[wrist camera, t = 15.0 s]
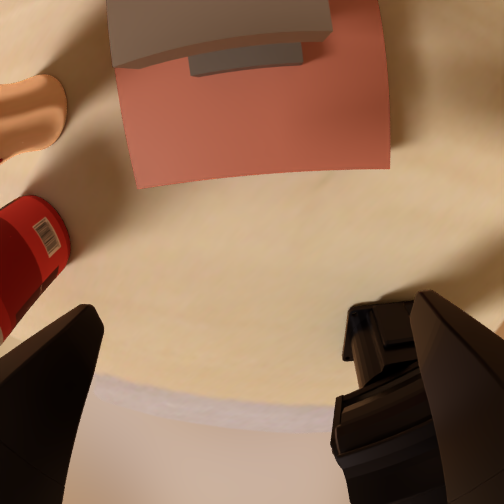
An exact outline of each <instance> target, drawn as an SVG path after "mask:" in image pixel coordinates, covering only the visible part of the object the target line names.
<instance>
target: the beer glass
mask: <svg viewBox="0 0 504 504" xmlns="http://www.w3.org/2000/svg"><path fill="white" fill-rule="evenodd" d="M66 116H67V100H66V95H65V91H64V89H63V87H62V85H61V83H60V82H59V81H58V80H57V79H56V78H55V77H53V76H51V75H47V74H40V75H36V76H33V77H30V78H27V79H25V80H22V81H19V82H16V83H11V84H0V165H1V164H3V163H4V162H5V161H7V160H8V159H10V158H12V157H14V156H16V155H18V154H21V153H25V152H32V151H39V150H43V149H46V148H48V147H49V146H51V145H52V144H53V143H54V142H55V141H56V140H57V139H58V138H59V136H60V134H61V132H62V130H63V128H64V125H65V121H66Z"/></svg>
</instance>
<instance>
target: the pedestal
mask: <svg viewBox="0 0 504 504" xmlns="http://www.w3.org/2000/svg"><path fill="white" fill-rule="evenodd" d="M106 5H107V19H108V31H109V41H110V50H111V58H112V66H113V68H128V69H142V68H145V67H148V66H152V65H156V64H159V63H163V62H167V61H171V60H175V59H179V58H184V57H188V62H189V69H190V76H193V77H203V76H209V75H215V74H221V73H227V72H234V71H242V70H250V69H259V68H270V67H283V66H301V65H302V64H303V54H302V46H301V42H323V41H324V40H325V39H326V38H327V37H328V36H329V35H330V34H331V33H332V32H333V27H332V21H331V14H330V8H329V2H328V0H106Z"/></svg>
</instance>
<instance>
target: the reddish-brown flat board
mask: <svg viewBox="0 0 504 504" xmlns="http://www.w3.org/2000/svg"><path fill="white" fill-rule="evenodd" d="M328 2H329V8H330V14H331V21H332V27H333V32H332V33H331V34H330V35H329V36H328V37H327V38H326V39H325V40H324V41H323V42H301V46H302V54H303V64H302V65H301V66H283V67H270V68H259V69H250V70H242V71H234V72H227V73H221V74H215V75H209V76H203V77H193V76H190V69H189V62H188V57H184V58H179V59H175V60H171V61H167V62H163V63H159V64H156V65H152V66H148V67H145V68H142V69H128V68H115V75H116V82H117V89H118V95H119V101H120V107H121V113H122V119H123V124H124V129H125V135H126V140H127V145H128V149H129V154H130V159H131V163H132V168H133V172H134V177H135V181H136V185H137V189H143V188H149V187H156V186H163V185H170V184H177V183H184V182H192V181H200V180H209V179H217V178H227V177H237V176H247V175H259V174H271V173H285V172H301V171H321V170H350V169H390V104H389V86H388V73H387V62H386V52H385V44H384V36H383V29H382V22H381V16H380V10H379V5H378V0H328Z"/></svg>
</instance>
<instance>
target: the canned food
mask: <svg viewBox="0 0 504 504" xmlns="http://www.w3.org/2000/svg"><path fill="white" fill-rule="evenodd" d="M70 251H71V249H70V239H69V235H68V232H67V229H66V226H65V224H64V222H63V220H62V219H61V217H60V215H59V214H58V213H57V211H56V210H55V209H54V208H53V207H52V206H51V205H50V204H49V203H48V202H47V201H45V200H44V199H42V198H40V197H38V196H34V195H28V196H22V197H18V198H17V199H15V200H13V201H12V202H10V203H8V204H7V205H5V206H4V207H2V208H1V209H0V345H1V344H2V343H3V342H4V340H5V339H6V338H7V337H8V336H9V334H10V333H11V332H12V330H13V329H14V328H15V326H16V325H17V324H18V323H19V321H20V320H21V319H22V317H23V316H24V315H25V314H26V312H27V311H28V310H29V309H30V307H31V306H32V305H33V304H34V303H35V301H36V300H37V299H38V298H39V297H40V295H41V294H42V293H43V292H44V291H45V290H46V288H47V287H48V286H49V285H50V284H51V283H52V282H53V280H54V279H55V278H56V277H57V276H58V275H59V274H60V273H61V271H62V270H63V269H64V268H65V266H66V263H67V261H68V259H69V256H70Z"/></svg>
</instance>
